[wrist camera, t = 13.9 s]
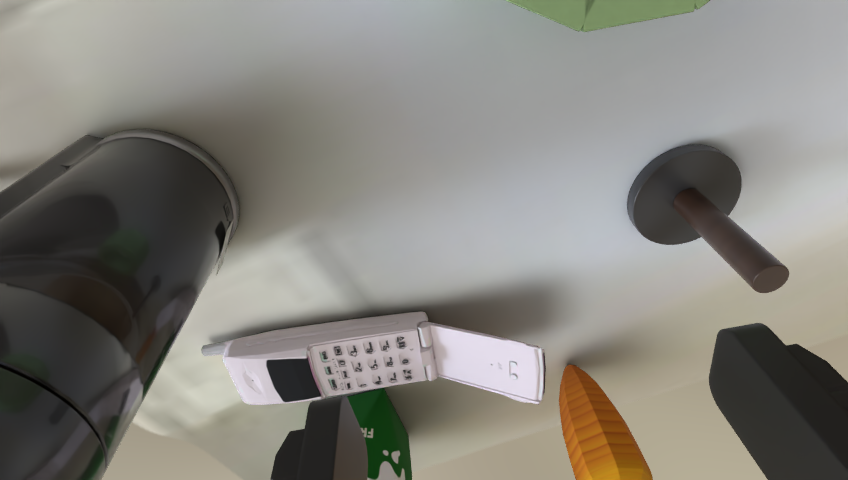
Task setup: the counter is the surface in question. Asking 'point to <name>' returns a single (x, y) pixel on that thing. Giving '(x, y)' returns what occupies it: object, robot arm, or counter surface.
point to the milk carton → (382, 436)
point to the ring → (606, 11)
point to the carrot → (597, 432)
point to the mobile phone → (376, 359)
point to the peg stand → (700, 211)
